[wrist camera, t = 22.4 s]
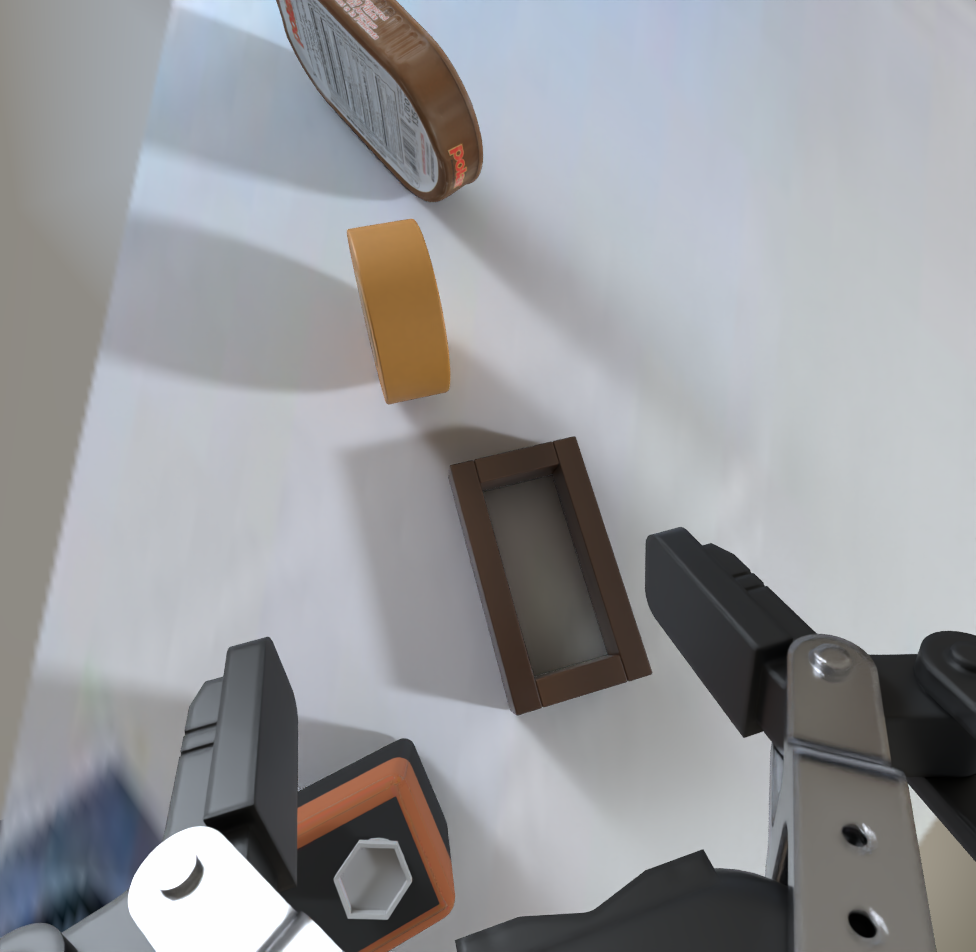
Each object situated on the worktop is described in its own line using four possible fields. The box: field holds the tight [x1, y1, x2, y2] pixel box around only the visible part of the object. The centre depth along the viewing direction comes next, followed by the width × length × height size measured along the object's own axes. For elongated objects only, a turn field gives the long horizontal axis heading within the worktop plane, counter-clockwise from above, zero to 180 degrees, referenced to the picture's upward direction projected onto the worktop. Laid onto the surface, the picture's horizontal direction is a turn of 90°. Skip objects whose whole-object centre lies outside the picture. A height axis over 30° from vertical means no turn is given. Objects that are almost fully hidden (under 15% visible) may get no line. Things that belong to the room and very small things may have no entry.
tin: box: [276, 0, 483, 202], centre depth 33 cm, size 15×3×8 cm, turn 41°
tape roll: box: [347, 219, 450, 404], centre depth 29 cm, size 3×8×8 cm, turn 15°
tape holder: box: [449, 436, 652, 715], centre depth 29 cm, size 6×12×2 cm, turn 15°
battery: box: [278, 739, 455, 952], centre depth 22 cm, size 4×7×10 cm, turn 116°
